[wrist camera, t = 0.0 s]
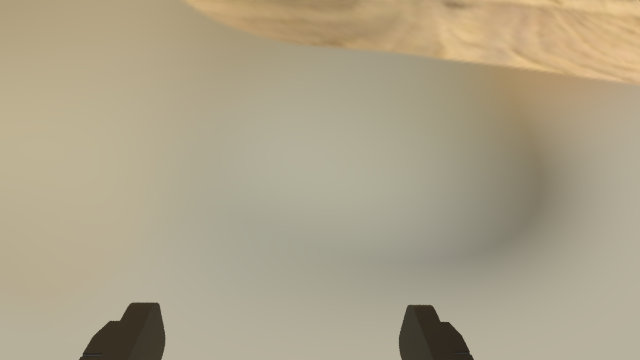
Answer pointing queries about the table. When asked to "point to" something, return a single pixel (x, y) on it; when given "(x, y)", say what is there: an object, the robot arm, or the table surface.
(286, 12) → the table surface
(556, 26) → the table surface
